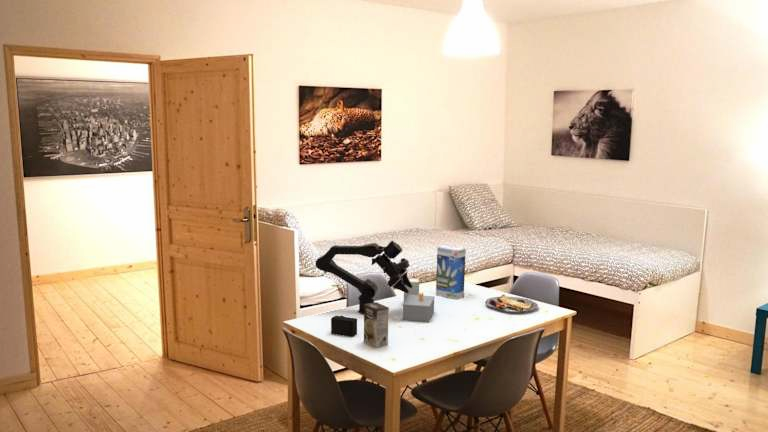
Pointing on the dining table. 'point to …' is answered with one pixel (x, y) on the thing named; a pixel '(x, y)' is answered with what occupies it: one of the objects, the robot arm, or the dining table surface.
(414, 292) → the supplement box
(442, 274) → the string lights box
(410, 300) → the lid
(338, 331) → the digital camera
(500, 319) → the dining table surface
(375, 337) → the coffee box
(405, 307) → the carton
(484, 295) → the dining table surface
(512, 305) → the food plate
